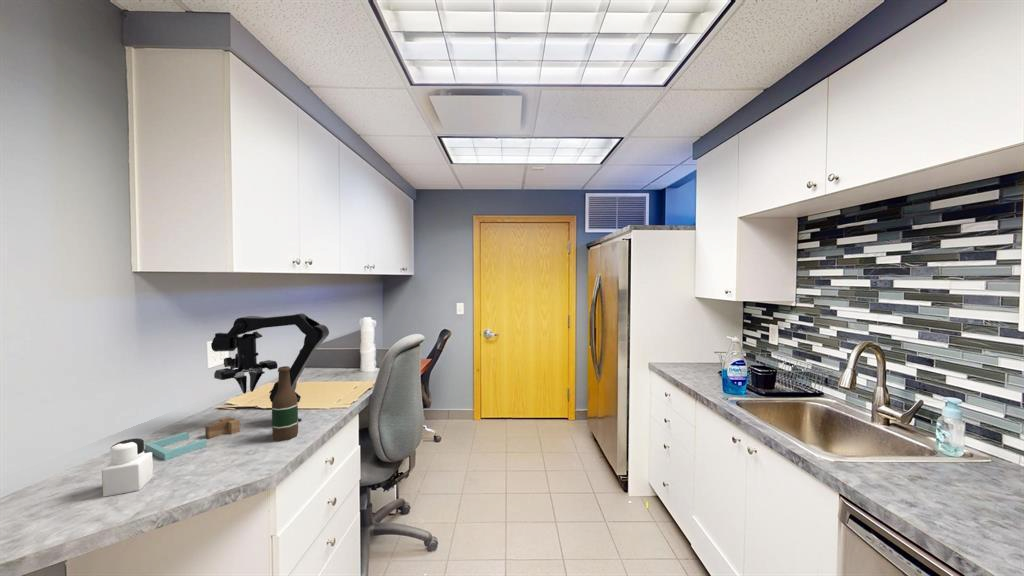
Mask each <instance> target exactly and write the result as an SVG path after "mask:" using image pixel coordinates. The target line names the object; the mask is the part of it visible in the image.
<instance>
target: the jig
mask: <svg viewBox="0 0 1024 576" xmlns="http://www.w3.org/2000/svg"><path fill="white" fill-rule="evenodd" d="M189 436H190V435H189V432H188V431H184V432H181V433H178V434H173V435H172V436H167V437H165V438H161V439H157V440H155V441H150V442H147V443H144V451H146V452H147V453H149V452H152V455H154V456H155V457H157V458H160V459H161V460H163V461H169V460H171V459H173V458H175V457H178V456H179V457H180V456H182V455H185V454H187V453H191V452H193V451H195V450H199V449H202V448H205V447H207V446H208V443H207V442H208V441H207V438H203V439H200V440H197V441H193V442H190V443H188V444H185V445H182V446H179V447H176V448H172V449H167V448H164V447H166V446H169V445H171V444H172V445H173V444H175V443H178V442H181V441H185V440H188V439H189V438H190V437H189Z"/></svg>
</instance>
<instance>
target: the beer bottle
mask: <svg viewBox="0 0 1024 576" xmlns="http://www.w3.org/2000/svg"><path fill="white" fill-rule="evenodd" d="M290 368H291V367H290V366H287V365H285V366H279V367H278V368H277V373H278V378H277V379H278V380H277V381H278V391H277V393H276V395H275V396H274V399H273V401H272V402H271V420H272V421H271V423H272V425H271V426H272V428H271V429H272V431H271V432H272V440H273V441H276V442H283V441H285V442H286V441H290V440H293V439H295V438H297V437H298V433H299V422H298V418H299V411H298V410H299V409H298V407H299V406H298V404H299V402H298V401H297V396H296V394H295V392H296V391H295V392H294V391H293V390H292V388H291V383H290V373H289V370H290Z"/></svg>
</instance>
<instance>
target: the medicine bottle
mask: <svg viewBox="0 0 1024 576" xmlns="http://www.w3.org/2000/svg"><path fill="white" fill-rule="evenodd" d="M109 448H110V463H108V464H107V465H106V466H104V467H103V468H102V469H101V478H102V479H101V480H102V481H101V482H102V483H101V485H102V496H103V497H111V496H117V495H121V494H123V495H124V494H128V493H133V492H139V491H140V490H141V489H143V487H145V486H146V485H147V483H149V481H150V480H152V478H154V466H153V461H154V460H153V454H152V452H145V442H144V439H142V438H129V439H124V440H121V441H118V442H116V443H115V444H113V445H112V446H111V447H109Z"/></svg>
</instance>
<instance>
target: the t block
mask: <svg viewBox="0 0 1024 576" xmlns="http://www.w3.org/2000/svg"><path fill="white" fill-rule="evenodd" d="M240 426H241V423H240V420H239V419H236V418H233V417H231V416H225V417H222V418H220V419H219V421H217V422H214V423H211V424H208V425H205V426H204V430H205V431H204V432H205V439H208V440H211V439H213V438H216V437H219V436H222V435H225V434H230V435H234V434H237V433H240V432H241V427H240Z"/></svg>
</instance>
